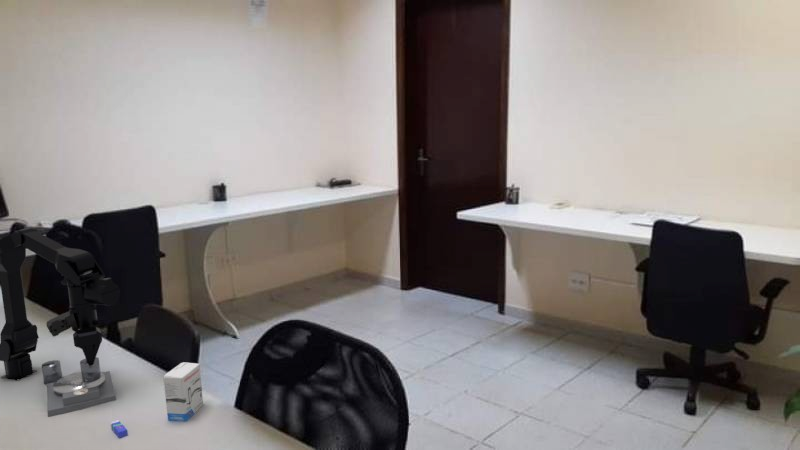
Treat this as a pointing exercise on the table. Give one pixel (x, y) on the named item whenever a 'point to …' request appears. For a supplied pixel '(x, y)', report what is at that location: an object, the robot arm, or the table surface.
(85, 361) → the cylinder
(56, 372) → the cylinder
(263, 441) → the table surface
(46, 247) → the robot arm
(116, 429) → the eraser
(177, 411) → the ink box
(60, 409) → the scale
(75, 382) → the scale pan
